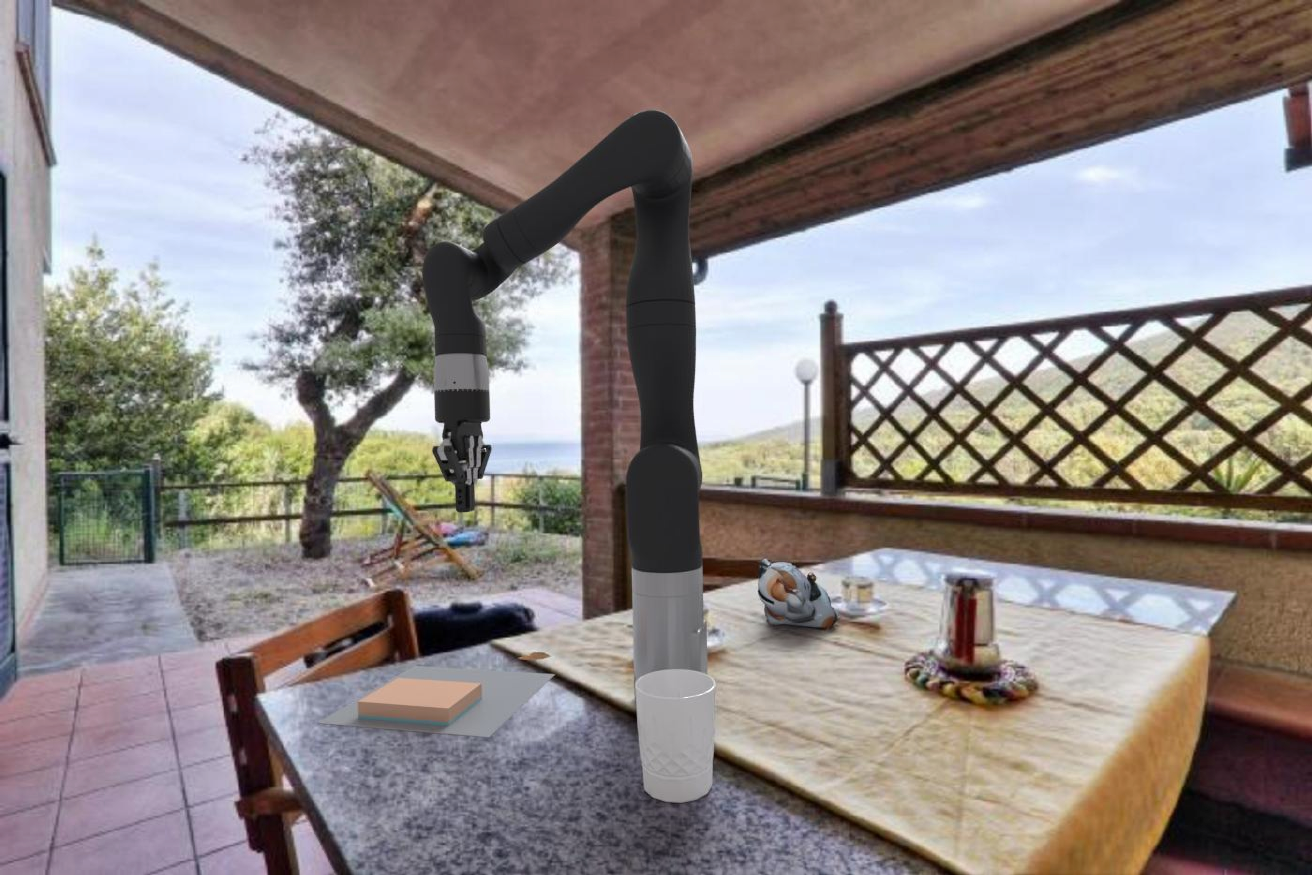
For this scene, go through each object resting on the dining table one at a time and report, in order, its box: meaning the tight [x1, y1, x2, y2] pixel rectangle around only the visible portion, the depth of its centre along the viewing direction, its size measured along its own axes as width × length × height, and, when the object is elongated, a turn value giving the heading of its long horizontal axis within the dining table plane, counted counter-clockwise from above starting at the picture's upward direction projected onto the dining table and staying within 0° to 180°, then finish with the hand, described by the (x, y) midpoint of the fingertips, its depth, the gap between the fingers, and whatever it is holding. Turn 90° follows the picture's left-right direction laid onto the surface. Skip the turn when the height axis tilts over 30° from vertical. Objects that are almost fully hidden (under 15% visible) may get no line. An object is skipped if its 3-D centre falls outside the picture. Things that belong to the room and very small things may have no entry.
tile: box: [358, 678, 482, 726], centre depth 82 cm, size 12×2×8 cm
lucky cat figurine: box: [757, 558, 841, 630], centre depth 120 cm, size 15×12×14 cm
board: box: [317, 665, 556, 738], centre depth 86 cm, size 22×20×1 cm
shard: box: [517, 651, 552, 661], centre depth 100 cm, size 11×8×2 cm
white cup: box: [635, 669, 717, 804], centre depth 65 cm, size 8×8×10 cm
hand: (465, 511), depth 94 cm, fingers closed
